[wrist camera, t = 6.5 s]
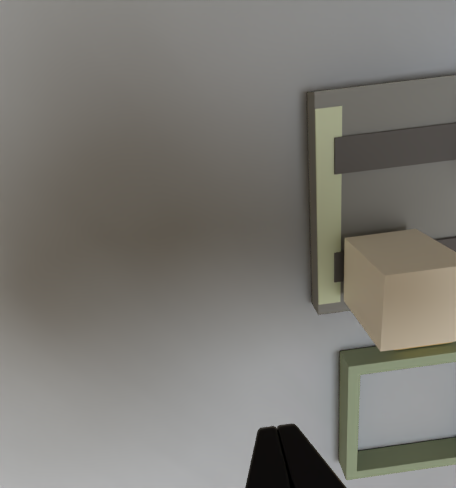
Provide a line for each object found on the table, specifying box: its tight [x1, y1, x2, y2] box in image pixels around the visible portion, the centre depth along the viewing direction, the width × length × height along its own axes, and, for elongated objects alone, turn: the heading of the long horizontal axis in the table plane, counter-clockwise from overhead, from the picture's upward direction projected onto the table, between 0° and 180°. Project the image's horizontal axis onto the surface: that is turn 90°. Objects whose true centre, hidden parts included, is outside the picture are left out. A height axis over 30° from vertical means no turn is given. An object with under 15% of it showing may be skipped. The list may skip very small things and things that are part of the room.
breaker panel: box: [307, 75, 456, 315], centre depth 15 cm, size 11×10×1 cm
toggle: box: [344, 229, 456, 352], centre depth 14 cm, size 3×3×4 cm
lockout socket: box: [339, 341, 456, 480], centre depth 19 cm, size 8×11×1 cm
